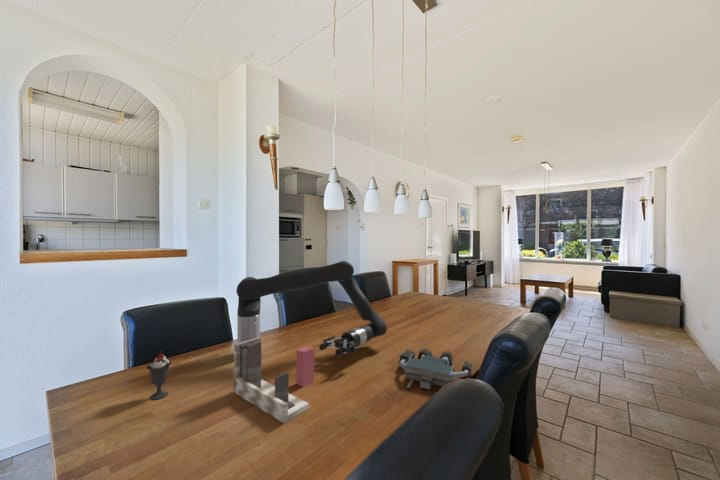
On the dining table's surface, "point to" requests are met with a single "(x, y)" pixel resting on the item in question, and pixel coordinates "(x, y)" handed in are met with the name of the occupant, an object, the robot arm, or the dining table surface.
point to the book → (305, 366)
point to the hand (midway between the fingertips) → (327, 350)
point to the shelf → (263, 384)
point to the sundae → (159, 375)
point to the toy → (431, 368)
